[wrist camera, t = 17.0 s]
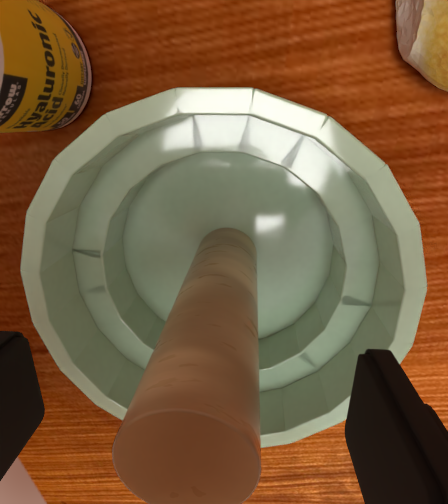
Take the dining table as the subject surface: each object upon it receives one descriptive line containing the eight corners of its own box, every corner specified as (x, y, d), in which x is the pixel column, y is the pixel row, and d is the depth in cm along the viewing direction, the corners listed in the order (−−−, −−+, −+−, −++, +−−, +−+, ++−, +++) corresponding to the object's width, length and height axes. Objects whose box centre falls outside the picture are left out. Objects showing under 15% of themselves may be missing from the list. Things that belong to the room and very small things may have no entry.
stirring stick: (198, 280, 19) (119, 510, 8) (197, 226, 18) (102, 404, 7) (255, 283, 19) (257, 523, 8) (258, 228, 18) (264, 416, 6)
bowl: (107, 357, 22) (58, 436, 17) (69, 97, 17) (-25, 87, 11) (349, 372, 21) (383, 463, 16) (398, 99, 15) (479, 87, 10)
